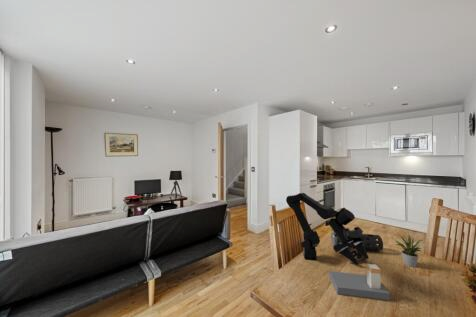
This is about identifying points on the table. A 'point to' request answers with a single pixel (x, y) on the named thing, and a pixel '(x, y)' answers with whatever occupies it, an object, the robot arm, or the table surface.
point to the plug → (373, 276)
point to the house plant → (409, 251)
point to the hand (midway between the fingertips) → (362, 261)
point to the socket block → (356, 286)
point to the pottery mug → (358, 256)
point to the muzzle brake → (368, 244)
